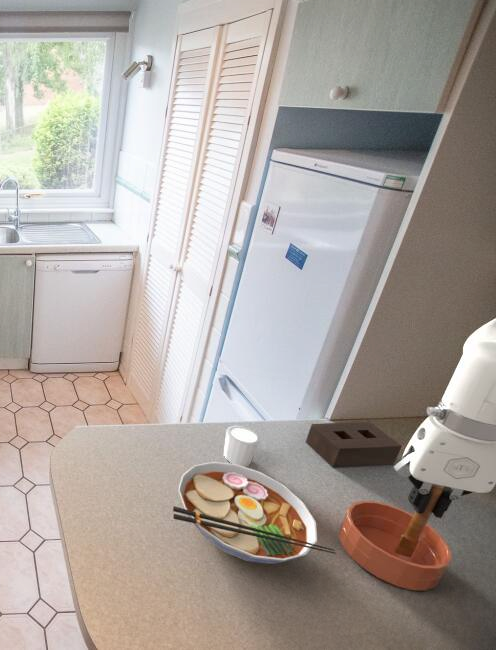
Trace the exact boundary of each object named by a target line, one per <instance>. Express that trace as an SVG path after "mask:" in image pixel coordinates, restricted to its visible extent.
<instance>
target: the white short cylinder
mask: <svg viewBox="0 0 496 650" xmlns="http://www.w3.org/2000/svg"><path fill="white" fill-rule="evenodd" d="M260 443H261V437H260V435H259V433H257V432H256V431H254V430H253V429H251V428H249V427H246V426H243V425H234V424H233V425H230V426H228V427H227V428H226V432H225V440H224V447H223V457H224V456H225V458H226V459H227V460H228V461H229V462H230V463H232V464H237V465H240V466H243V467H246V468H247V467H249V466H250V465H251V463H252V460H253V459H254V457H255V454H256V452H257V449H258V447H259V445H260ZM225 458H224V459H225ZM226 459H225V460H226ZM227 460H226V461H227ZM228 461H227V462H228ZM229 462H228V463H229ZM249 464H250V465H249Z"/></svg>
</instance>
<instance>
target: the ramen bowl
mask: <svg viewBox="0 0 496 650" xmlns="http://www.w3.org/2000/svg"><path fill="white" fill-rule="evenodd" d="M177 490H178V494H179V496H180V499H181V502H182V505H183V506H182V507H183V508H182V507H179V506H173V507H172V511H173V512H175V513H173V516H172V517H173V520H177V521H183V522H186V523H192V524H193V525H194V526H195V527H196V528H197V530H198V531H199V532H200V533H201V535H202V536H203V537H204V538H205V539H206V540H207V541H209V542H210V543H211V544H213V545H214V546H216V547H217V548H218V549H220V550H221V551H223V552H224V553H226V554H229V555H231V556H232V557H236V558H238V559H240V560H243V561H246V562H251V563H260V564H271V565H274V564H280V563H285V562H287V561H292V560H295V559H299V558H302V557H304V556H307V554H309V552H310V550H311V549H312V550H317V551H321V552H326V553H331V554H336V552H335V551H336V550H335V549H333V548H330V547H326V546H323V545H318V544H316V543H317V542H318V533H317V522H316V520H315V519H314V516H313V515H312V513H311V512H310V511H309V509H308V508H307V506H306V504H305V503H304V502H303V501H302V500H301V499H300V498H299V497H298V496H297V495H296V494H294V493H293V492H292V491H291V490H290V489H289V488H288V487H286V485H284V484H283V483H281V482H279V481H277V480H276V479H273V478H272V477H270V476H268V475H266V474H264V473H263V472H261V471H257V470H255V469H253V468H249V467H247V466H246V467H243V466H240V465H237V464H231V463H229V462H219V461H210V462H204V463H199V464H194V465H192V467H190V468H189V469H188V470H186V471H185V472H184V473H183V474H182V475H181V478H180V481H179V485H178V488H177ZM177 513H179V514H177ZM185 515H187V516H185Z"/></svg>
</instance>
